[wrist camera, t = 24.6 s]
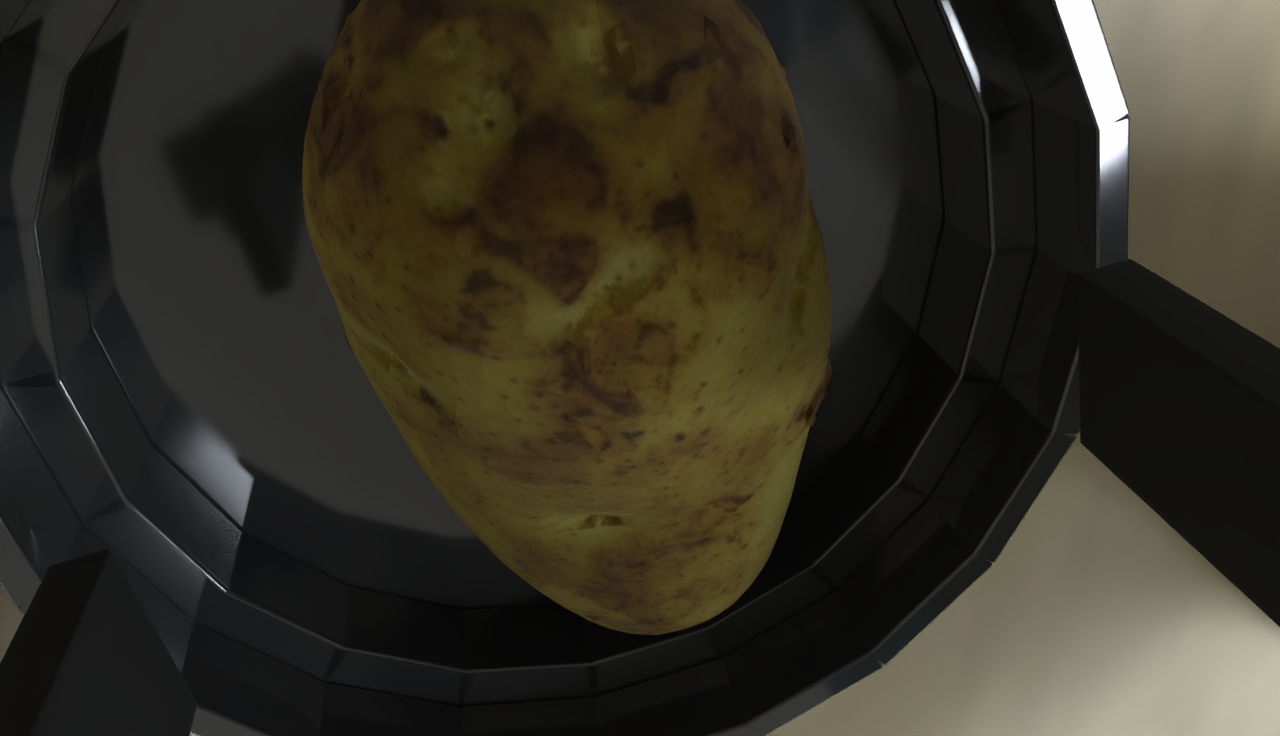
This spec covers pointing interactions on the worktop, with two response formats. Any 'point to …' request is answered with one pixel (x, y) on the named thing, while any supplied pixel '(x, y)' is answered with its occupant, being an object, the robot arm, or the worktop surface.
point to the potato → (581, 282)
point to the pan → (376, 451)
